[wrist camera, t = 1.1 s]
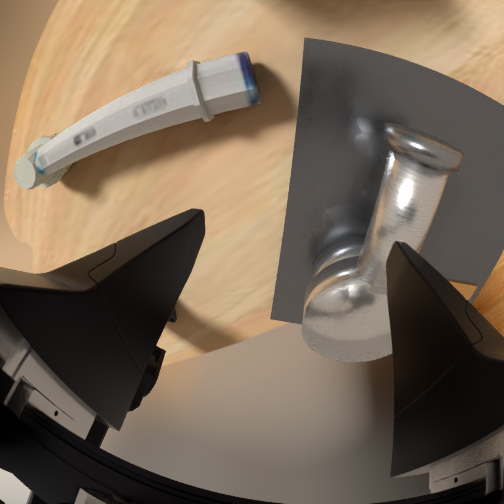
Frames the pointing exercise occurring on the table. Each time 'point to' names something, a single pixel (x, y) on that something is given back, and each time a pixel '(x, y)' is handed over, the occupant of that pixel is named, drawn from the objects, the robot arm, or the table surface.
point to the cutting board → (373, 165)
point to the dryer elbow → (379, 250)
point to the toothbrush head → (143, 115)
